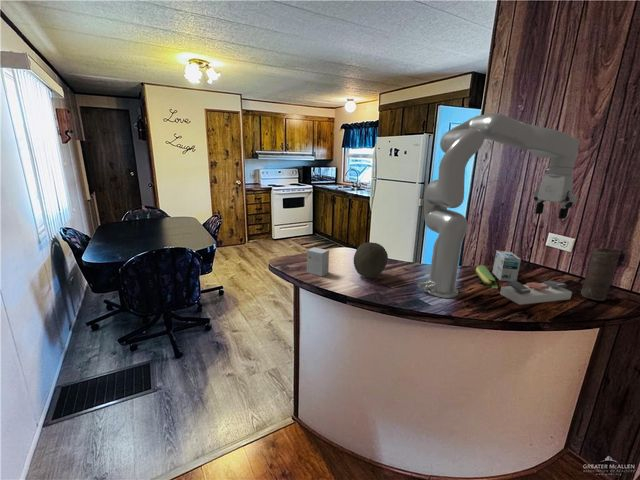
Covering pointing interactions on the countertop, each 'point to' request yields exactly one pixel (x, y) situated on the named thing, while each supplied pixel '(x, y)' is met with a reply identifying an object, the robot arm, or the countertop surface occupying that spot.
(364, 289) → the countertop surface
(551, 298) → the rocker switch panel
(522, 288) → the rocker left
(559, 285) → the rocker right
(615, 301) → the countertop surface
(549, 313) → the countertop surface
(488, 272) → the edible corn
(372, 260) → the dark brown sphere
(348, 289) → the countertop surface
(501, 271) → the light bulb box
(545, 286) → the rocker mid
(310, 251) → the small box
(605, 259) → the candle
